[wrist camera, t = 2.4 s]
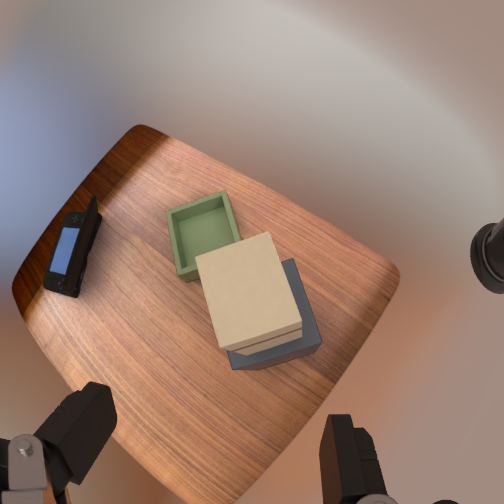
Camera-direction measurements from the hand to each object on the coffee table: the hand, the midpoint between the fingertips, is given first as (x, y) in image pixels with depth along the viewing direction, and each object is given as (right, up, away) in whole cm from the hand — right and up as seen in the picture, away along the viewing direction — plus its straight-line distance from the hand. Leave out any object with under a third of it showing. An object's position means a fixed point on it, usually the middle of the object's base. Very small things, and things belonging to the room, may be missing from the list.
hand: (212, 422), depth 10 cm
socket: (-5, +8, +37) cm, 39 cm away
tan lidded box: (+2, +1, +17) cm, 17 cm away
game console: (-29, +5, +41) cm, 50 cm away
